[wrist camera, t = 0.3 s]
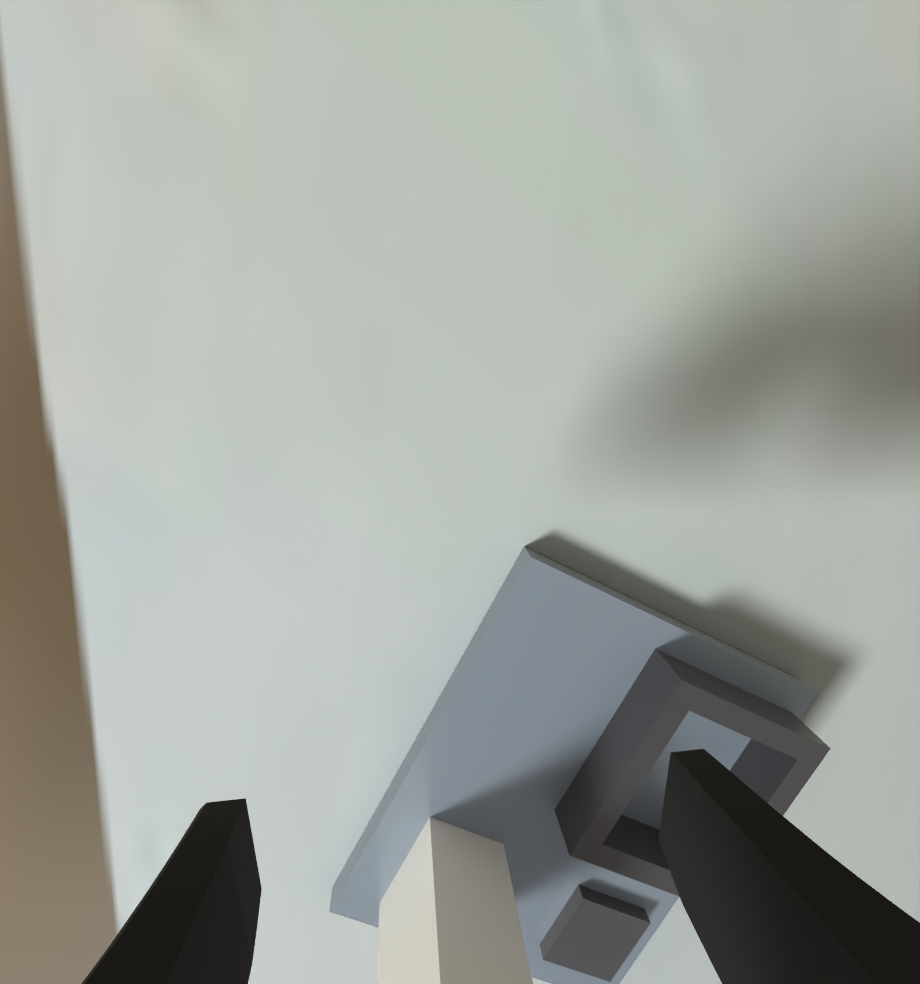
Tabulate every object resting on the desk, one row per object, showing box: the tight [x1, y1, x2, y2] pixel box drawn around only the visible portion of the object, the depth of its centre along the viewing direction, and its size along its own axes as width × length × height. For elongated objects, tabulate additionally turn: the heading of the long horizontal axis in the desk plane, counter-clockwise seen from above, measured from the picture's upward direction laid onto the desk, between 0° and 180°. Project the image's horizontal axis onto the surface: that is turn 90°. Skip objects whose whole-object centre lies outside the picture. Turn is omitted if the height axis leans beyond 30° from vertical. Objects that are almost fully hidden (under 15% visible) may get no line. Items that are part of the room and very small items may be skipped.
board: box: [330, 547, 818, 984], centre depth 22 cm, size 15×12×2 cm
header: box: [555, 649, 830, 897], centre depth 21 cm, size 7×6×2 cm
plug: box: [377, 817, 533, 984], centre depth 18 cm, size 4×3×7 cm
